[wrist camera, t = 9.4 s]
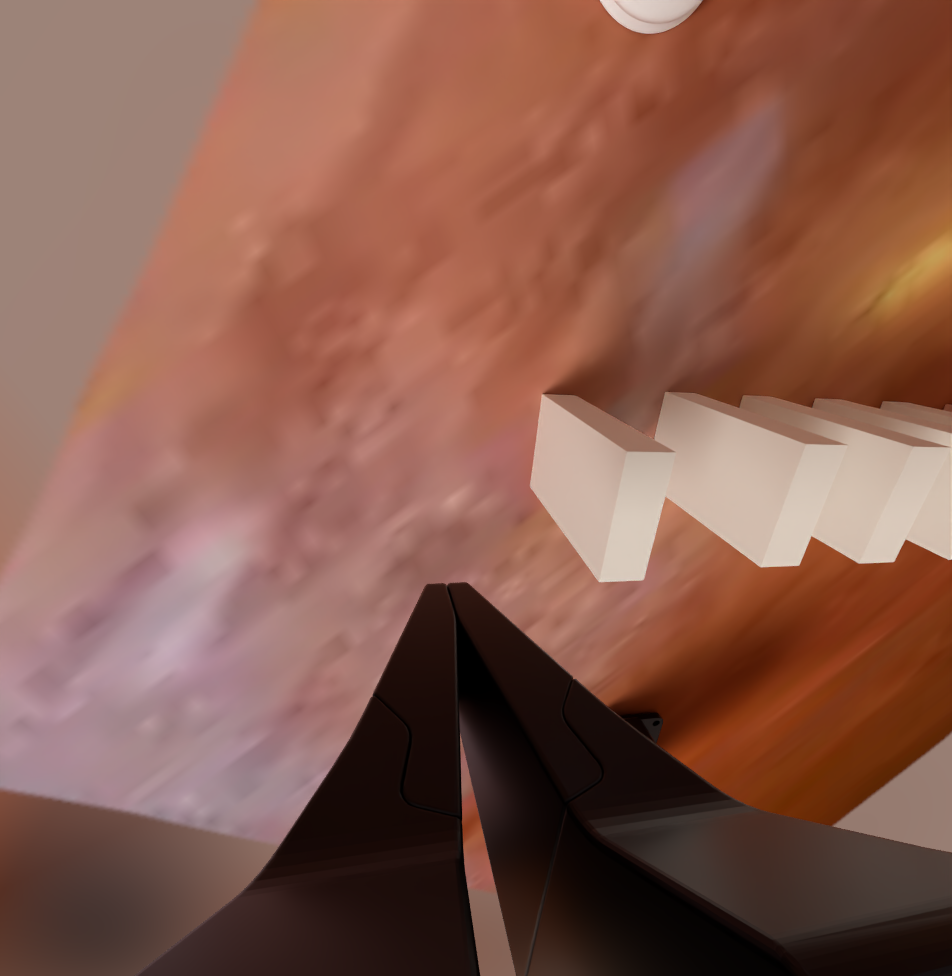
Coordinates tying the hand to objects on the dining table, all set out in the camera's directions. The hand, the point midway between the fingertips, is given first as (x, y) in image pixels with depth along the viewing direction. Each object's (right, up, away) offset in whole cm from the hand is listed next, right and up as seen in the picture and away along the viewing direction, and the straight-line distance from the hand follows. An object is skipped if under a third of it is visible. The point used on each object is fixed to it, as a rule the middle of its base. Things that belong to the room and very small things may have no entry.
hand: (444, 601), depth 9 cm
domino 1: (+4, +4, +12) cm, 14 cm away
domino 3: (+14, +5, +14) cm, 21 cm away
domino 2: (+10, +5, +13) cm, 17 cm away
